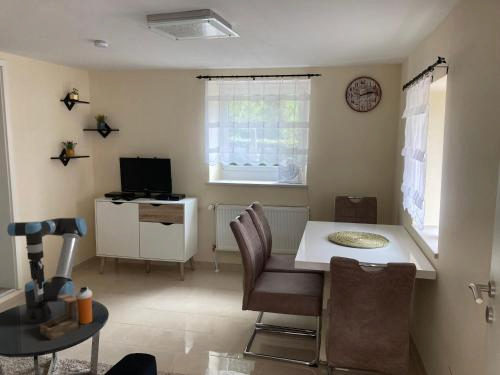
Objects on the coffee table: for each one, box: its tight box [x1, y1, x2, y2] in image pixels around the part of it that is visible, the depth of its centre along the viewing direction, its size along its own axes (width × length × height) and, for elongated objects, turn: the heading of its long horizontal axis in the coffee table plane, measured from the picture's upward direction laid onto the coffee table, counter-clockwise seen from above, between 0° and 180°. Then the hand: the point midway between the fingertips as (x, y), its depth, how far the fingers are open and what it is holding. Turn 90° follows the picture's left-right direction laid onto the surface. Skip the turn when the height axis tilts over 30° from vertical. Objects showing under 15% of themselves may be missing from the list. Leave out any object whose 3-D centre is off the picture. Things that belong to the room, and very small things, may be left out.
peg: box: [34, 278, 43, 302], centre depth 220 cm, size 4×4×12 cm
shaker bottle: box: [75, 286, 93, 325], centre depth 239 cm, size 9×9×20 cm
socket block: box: [39, 293, 80, 341], centre depth 228 cm, size 12×16×18 cm
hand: (38, 293), depth 221 cm, fingers closed on peg, 4 cm apart
